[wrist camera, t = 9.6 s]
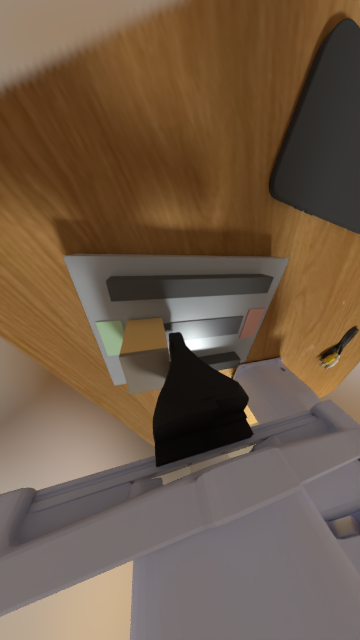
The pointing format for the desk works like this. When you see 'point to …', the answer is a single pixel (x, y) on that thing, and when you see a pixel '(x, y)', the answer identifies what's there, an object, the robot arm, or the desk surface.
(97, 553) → the robot arm
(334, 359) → the composite cable
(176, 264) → the grey base plate
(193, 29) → the desk surface
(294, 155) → the phone
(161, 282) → the dark gray raised rails
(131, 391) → the lever
